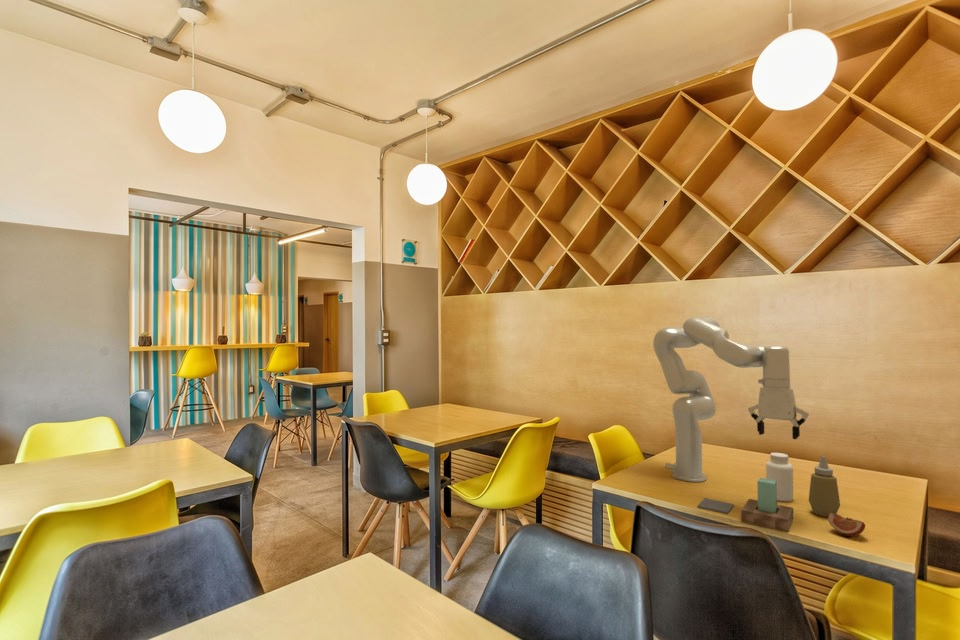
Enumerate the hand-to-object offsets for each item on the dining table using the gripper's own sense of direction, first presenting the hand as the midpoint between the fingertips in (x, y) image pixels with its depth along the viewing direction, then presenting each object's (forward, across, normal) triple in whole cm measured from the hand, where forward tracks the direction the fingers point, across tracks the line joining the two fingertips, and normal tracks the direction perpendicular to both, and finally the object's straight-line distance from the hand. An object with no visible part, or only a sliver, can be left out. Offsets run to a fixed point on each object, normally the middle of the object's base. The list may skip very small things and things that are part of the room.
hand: (778, 436), depth 155 cm
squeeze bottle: (+24, +11, +5) cm, 26 cm away
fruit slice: (+24, +19, -8) cm, 31 cm away
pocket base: (+23, 0, -14) cm, 27 cm away
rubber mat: (+23, -15, -14) cm, 31 cm away
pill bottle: (+23, -3, +11) cm, 26 cm away
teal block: (+23, 0, -14) cm, 27 cm away
